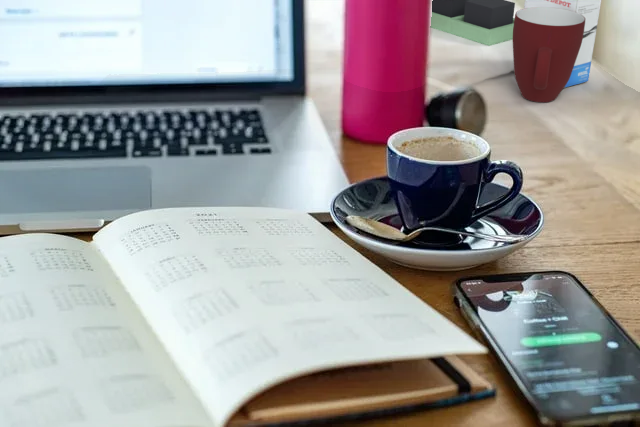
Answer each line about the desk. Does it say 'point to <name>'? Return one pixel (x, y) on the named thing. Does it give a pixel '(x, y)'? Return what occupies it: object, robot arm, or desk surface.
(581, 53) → the ink box
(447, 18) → the holder
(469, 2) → the dark grey block
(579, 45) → the mug
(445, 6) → the black block
